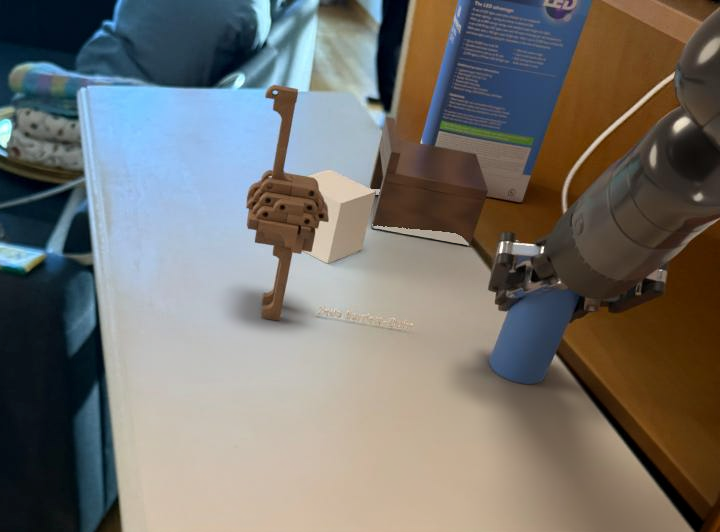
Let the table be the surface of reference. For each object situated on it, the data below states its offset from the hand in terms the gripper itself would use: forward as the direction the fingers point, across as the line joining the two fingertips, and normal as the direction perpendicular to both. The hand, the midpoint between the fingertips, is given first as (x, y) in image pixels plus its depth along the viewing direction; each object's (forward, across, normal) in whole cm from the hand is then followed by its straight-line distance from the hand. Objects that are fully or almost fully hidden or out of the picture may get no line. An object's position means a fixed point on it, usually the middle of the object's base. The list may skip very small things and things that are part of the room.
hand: (535, 305), depth 82 cm
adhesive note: (+16, +18, -8) cm, 25 cm away
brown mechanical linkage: (+5, +18, +3) cm, 19 cm away
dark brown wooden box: (+24, +7, -17) cm, 30 cm away
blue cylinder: (+2, 0, +5) cm, 6 cm away
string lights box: (+34, 0, -27) cm, 43 cm away
